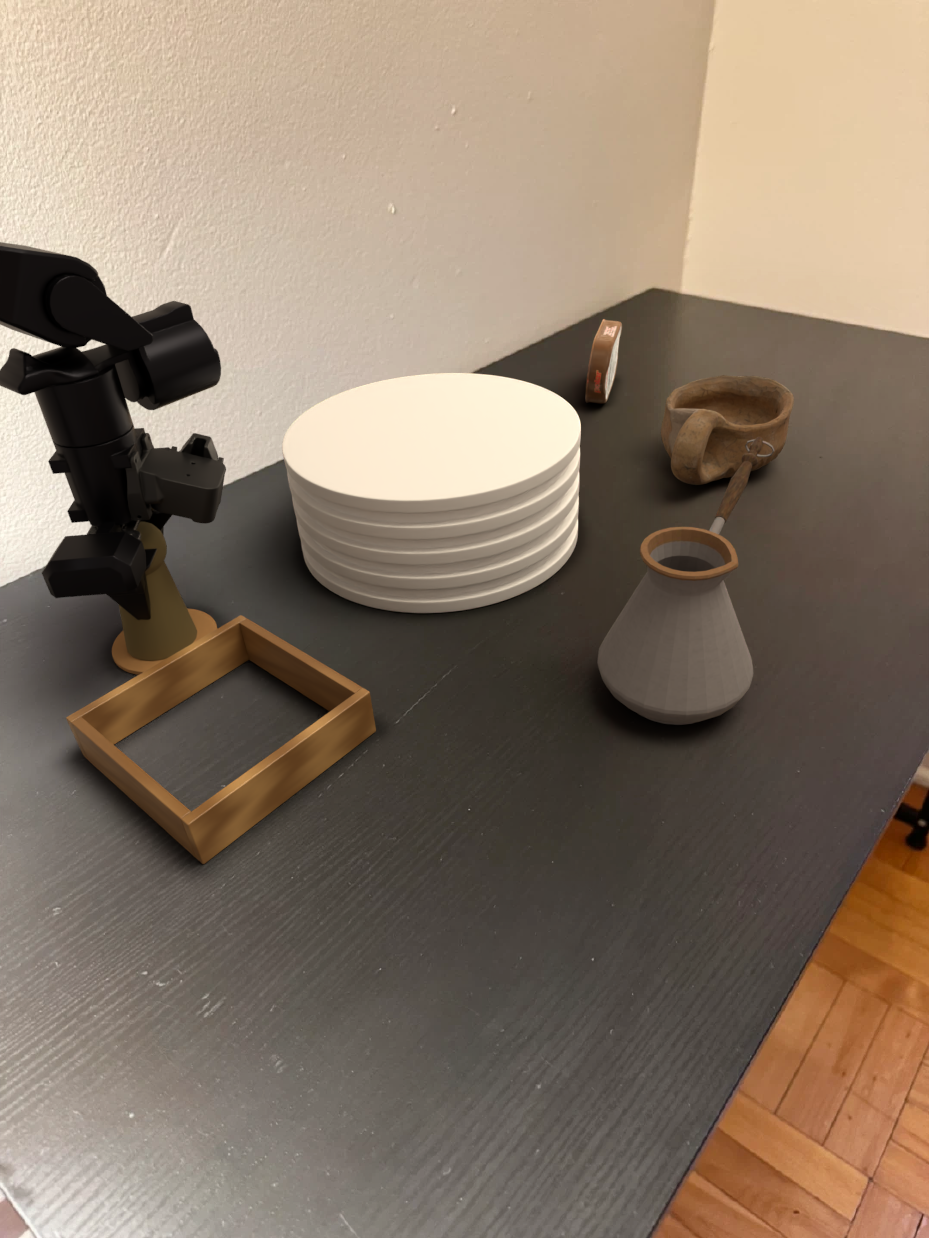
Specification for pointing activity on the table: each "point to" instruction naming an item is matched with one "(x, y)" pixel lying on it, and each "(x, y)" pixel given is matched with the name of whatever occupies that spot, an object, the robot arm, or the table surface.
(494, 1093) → the table surface
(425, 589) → the plate stack
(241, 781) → the wooden frame
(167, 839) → the table surface
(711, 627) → the coffee pot
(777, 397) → the brown clay mug
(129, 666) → the coaster
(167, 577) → the pepper shaker
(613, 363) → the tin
